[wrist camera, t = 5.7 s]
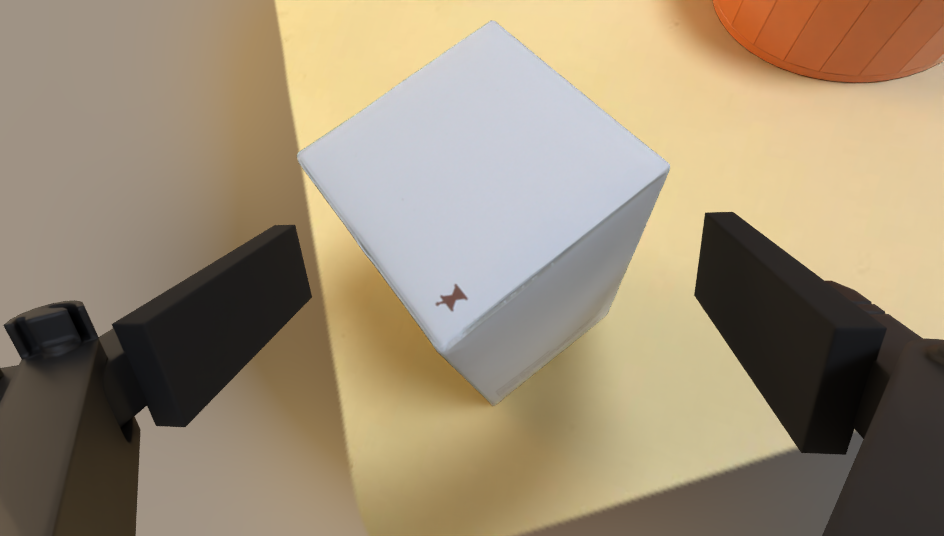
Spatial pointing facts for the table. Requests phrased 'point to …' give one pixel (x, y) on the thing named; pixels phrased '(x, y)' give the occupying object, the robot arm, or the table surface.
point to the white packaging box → (491, 204)
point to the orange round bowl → (840, 35)
